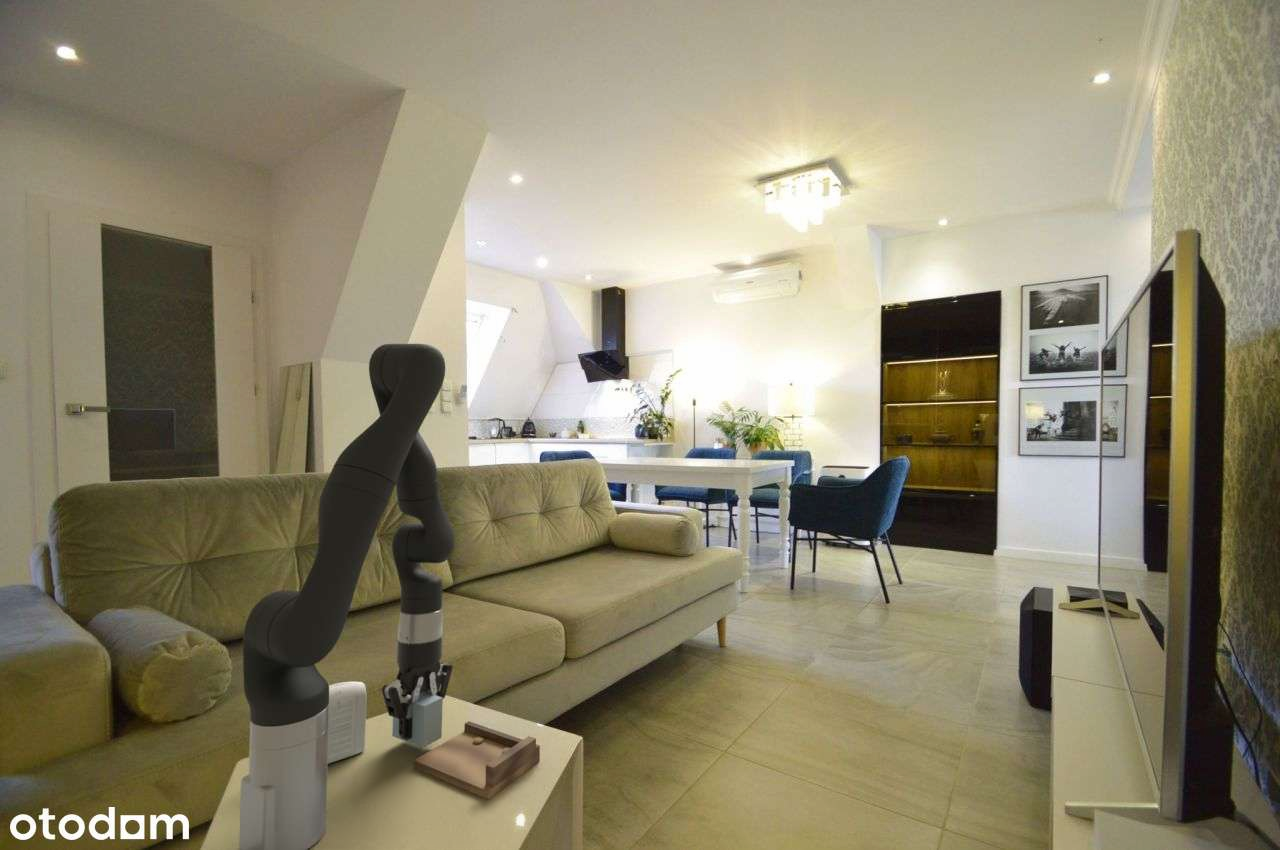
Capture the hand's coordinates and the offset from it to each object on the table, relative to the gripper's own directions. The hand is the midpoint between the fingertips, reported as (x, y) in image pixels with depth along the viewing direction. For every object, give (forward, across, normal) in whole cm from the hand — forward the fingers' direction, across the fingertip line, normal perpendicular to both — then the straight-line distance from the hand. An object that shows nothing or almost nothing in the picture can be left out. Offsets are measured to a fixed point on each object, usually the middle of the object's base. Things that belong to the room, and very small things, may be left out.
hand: (417, 732), depth 100 cm
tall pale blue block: (+1, 0, 0) cm, 1 cm away
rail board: (+3, +1, -13) cm, 14 cm away
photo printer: (+3, -9, +10) cm, 14 cm away
